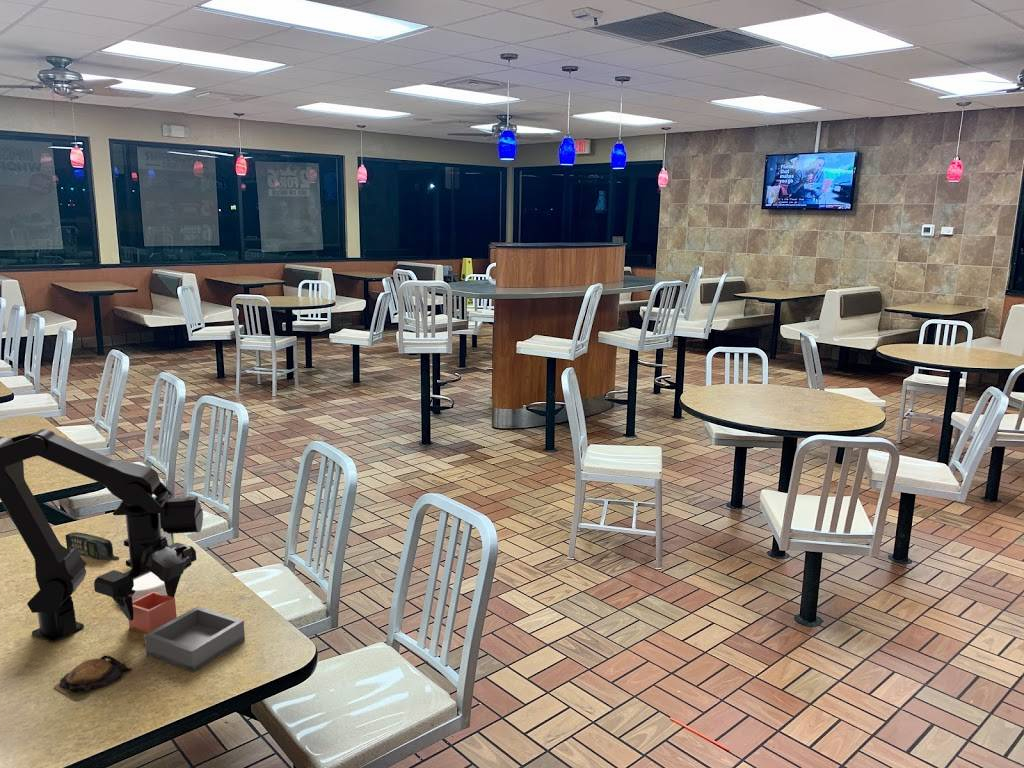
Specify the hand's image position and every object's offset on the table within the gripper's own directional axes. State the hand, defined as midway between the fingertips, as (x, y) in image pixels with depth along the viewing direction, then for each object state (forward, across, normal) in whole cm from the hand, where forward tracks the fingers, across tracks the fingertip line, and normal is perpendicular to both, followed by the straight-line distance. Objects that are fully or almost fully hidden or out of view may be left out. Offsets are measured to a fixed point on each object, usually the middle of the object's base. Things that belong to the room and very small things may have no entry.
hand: (151, 609), depth 149 cm
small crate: (+3, 0, 0) cm, 3 cm away
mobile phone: (+4, +16, +40) cm, 43 cm away
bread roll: (+4, -17, -6) cm, 19 cm away
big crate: (+3, -2, -14) cm, 15 cm away
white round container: (+4, +8, +12) cm, 15 cm away
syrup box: (+4, +22, +26) cm, 34 cm away
